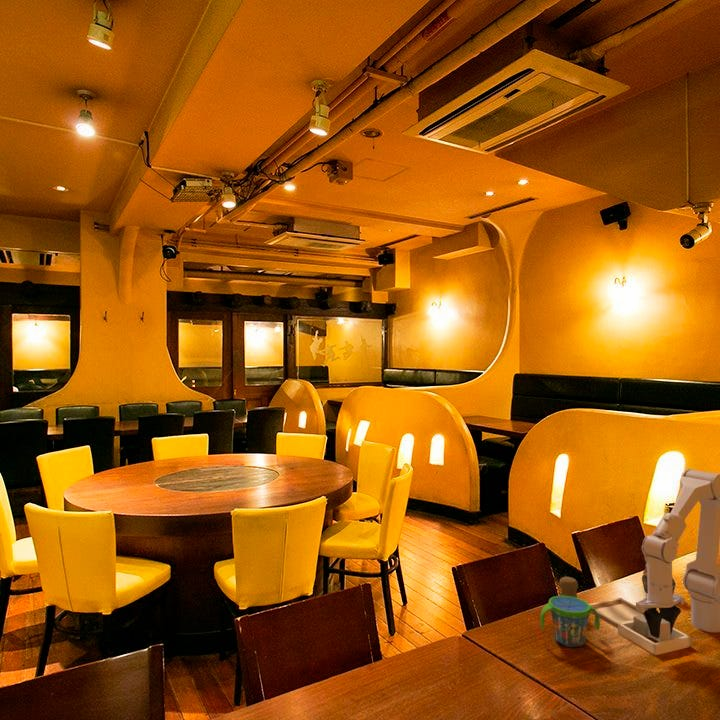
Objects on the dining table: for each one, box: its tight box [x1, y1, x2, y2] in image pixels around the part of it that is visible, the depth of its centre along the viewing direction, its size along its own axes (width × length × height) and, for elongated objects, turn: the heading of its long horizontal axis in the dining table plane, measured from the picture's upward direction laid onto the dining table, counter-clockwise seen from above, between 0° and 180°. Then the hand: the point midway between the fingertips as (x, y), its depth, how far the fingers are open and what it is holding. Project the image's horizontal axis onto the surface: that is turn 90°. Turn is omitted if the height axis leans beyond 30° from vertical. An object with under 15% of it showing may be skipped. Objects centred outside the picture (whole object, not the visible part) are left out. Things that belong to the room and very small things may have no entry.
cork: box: [558, 576, 579, 598], centre depth 157 cm, size 6×6×11 cm
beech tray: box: [588, 597, 643, 629], centre depth 156 cm, size 14×13×2 cm
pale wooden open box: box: [617, 620, 692, 656], centre depth 141 cm, size 12×12×4 cm
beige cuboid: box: [648, 619, 672, 642], centre depth 139 cm, size 4×4×4 cm
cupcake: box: [641, 563, 677, 595], centre depth 170 cm, size 10×10×10 cm
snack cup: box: [539, 595, 601, 648], centre depth 143 cm, size 16×10×10 cm
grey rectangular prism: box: [633, 615, 651, 639], centre depth 144 cm, size 4×4×4 cm
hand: (660, 634), depth 139 cm, fingers closed on beige cuboid, 4 cm apart
